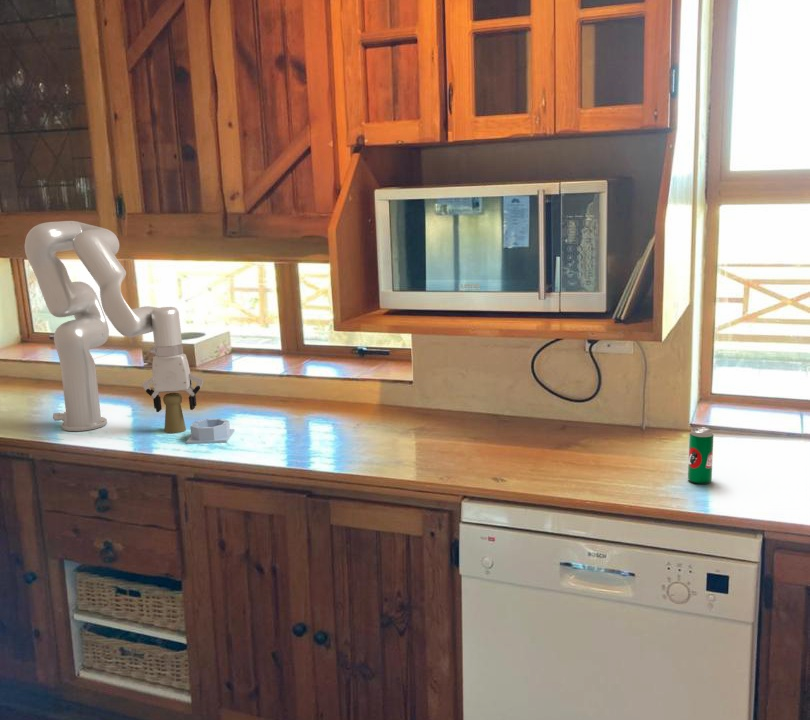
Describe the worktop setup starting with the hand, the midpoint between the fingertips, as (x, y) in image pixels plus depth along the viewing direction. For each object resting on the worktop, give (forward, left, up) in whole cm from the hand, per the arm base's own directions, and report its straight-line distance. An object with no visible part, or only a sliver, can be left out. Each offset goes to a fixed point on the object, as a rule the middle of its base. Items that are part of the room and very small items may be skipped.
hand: (175, 409), depth 245 cm
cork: (-1, 0, -6) cm, 6 cm away
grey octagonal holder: (+11, -8, -6) cm, 15 cm away
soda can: (+131, -55, -6) cm, 142 cm away
